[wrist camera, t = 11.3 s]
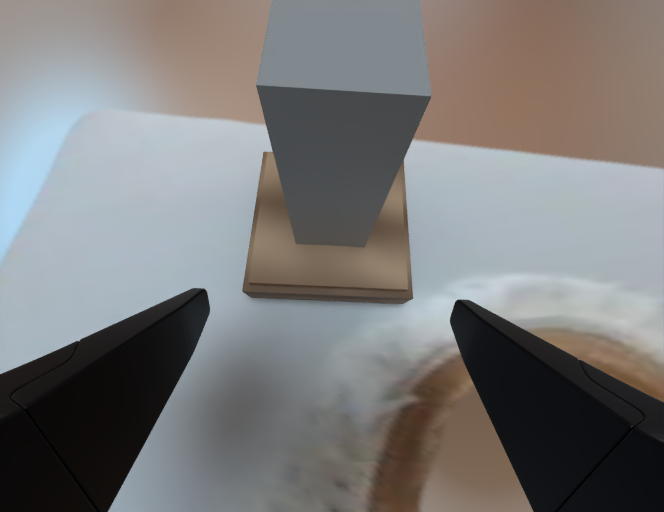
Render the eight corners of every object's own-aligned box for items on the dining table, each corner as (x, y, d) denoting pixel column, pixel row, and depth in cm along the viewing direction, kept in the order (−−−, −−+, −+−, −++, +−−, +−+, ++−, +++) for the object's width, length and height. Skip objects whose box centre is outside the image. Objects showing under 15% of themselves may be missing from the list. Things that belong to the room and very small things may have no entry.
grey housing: (364, 247, 19) (431, 96, 7) (295, 243, 19) (256, 85, 7) (364, 188, 20) (418, -9, 9) (301, 185, 20) (275, -20, 9)
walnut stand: (402, 303, 20) (415, 296, 18) (251, 297, 20) (239, 289, 17) (395, 177, 24) (405, 154, 22) (268, 170, 24) (262, 146, 21)
